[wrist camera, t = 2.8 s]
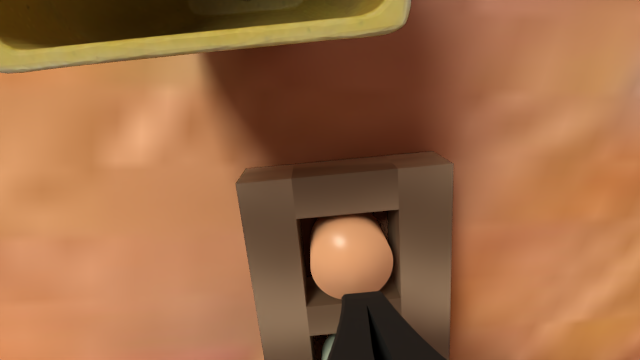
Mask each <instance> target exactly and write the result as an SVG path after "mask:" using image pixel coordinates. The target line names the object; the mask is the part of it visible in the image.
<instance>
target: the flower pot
mask: <svg viewBox="0 0 640 360" xmlns="http://www.w3.org/2000/svg"><path fill="white" fill-rule="evenodd" d="M410 8H411V0H0V72H1V73H24V72H31V71H39V70H47V69H54V68H63V67H71V66H80V65H90V64H99V63H109V62H118V61H127V60H137V59H147V58H157V57H166V56H176V55H185V54H195V53H205V52H214V51H226V50H237V49H247V48H258V47H268V46H278V45H288V44H298V43H308V42H318V41H327V40H339V39H351V38H365V37H374V36H380V35H385V34H389V33H392V32H395V31H396V30H398V29H400V28H402V27H403V26H404V24H405V23H406V21H407V19H408V16H409V12H410Z"/></svg>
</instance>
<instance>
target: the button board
mask: <svg viewBox="0 0 640 360" xmlns="http://www.w3.org/2000/svg"><path fill="white" fill-rule="evenodd" d="M236 190H237V196H238V202H239V208H240V214H241V220H242V226H243V232H244V238H245V245H246V251H247V257H248V263H249V269H250V275H251V281H252V287H253V293H254V299H255V305H256V311H257V318H258V324H259V330H260V336H261V342H262V348H263V354H264V360H316V356H315V347H314V338H313V335H324V334H334V333H336V331H337V327H338V324H339V319H340V314H341V307H342V300H341V299H337V298H334V297H332V296H330V295H328V294H326V293H325V292H324V291H322V290H321V289H320V288H319V287H318V285H317V284H316V283H315V281H314V279H313V277H307V276H306V268H305V259H304V250H303V241H302V232H301V223H300V219H302V218H313V217H323V216H334V215H345V214H355V213H366V212H377V211H387V220H388V244H389V247H390V249H391V251H392V255H393V268H392V272H391V275H390V277H389V279H388V281H387V282H386V284H385V285H384V286H383V287H382V288H381V289H380V290H379V291H381V292H382V293H383V294H384V295H385V296H386V298H387V299H388V300H389V302H390V303H391V304H392V305H393V306H394V308H395V309H396V310H397V311H398V312H399V314H400V315H401V316H402V317H403V318H404V319H405V320H406V321H407V322H408V323H409V324H410V326H411V327H412V328H413V329H414V330H415V331H416V332H417V333H418V334H419V335H420V336H421V337H422V338H423V339H424V340H425V341H426V342H428V343H429V344H430V345H431V346H432V347H433V348H434V349H435V350H436V351H437V352H438V353H440V354H441V355H442V356H443V357H444V358H445V359H447V360H449V350H450V303H451V255H452V208H453V163H452V162H450V161H448V160H447V159H445V158H443V157H442V156H440V155H438V154H437V153H435V152H433V151H429V152H418V153H408V154H397V155H386V156H375V157H365V158H354V159H343V160H332V161H322V162H311V163H300V164H289V165H279V166H268V167H257V168H246V169H245V171H244V172H243V174H242V175H241V177H240V178H239V179H238V181H237V182H236Z"/></svg>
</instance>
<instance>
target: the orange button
mask: <svg viewBox="0 0 640 360" xmlns="http://www.w3.org/2000/svg"><path fill="white" fill-rule="evenodd" d="M392 268H393V255H392V251H391V249H390V247H389V244H388V242H387V240H386V238H385V236H384V234H383V232H382V230H381V228H380V225H379V223H378V222H377V220H376V219H375V217H374V216H373V215H372V214H371V213H369V212H366V213H355V214H345V215H334V216H323V217H319V218H318V219H317V220H316V222H315V223H314V225H313V228H312V230H311V235H310V269H311V274H312V277H313V279H314V281H315V283H316V284H317V285H318V287H319V288H320V289H321V290H322V291H324V292H325V293H326V294H328V295H330V296H332V297H334V298H337V299H341V297H342V296H343V295H344V294H352V293H362V292H373V291H379V290H380V289H381V288H382V287H383V286H384V285H385V284H386V282H387V281H388V279H389V277H390V275H391V272H392Z"/></svg>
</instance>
